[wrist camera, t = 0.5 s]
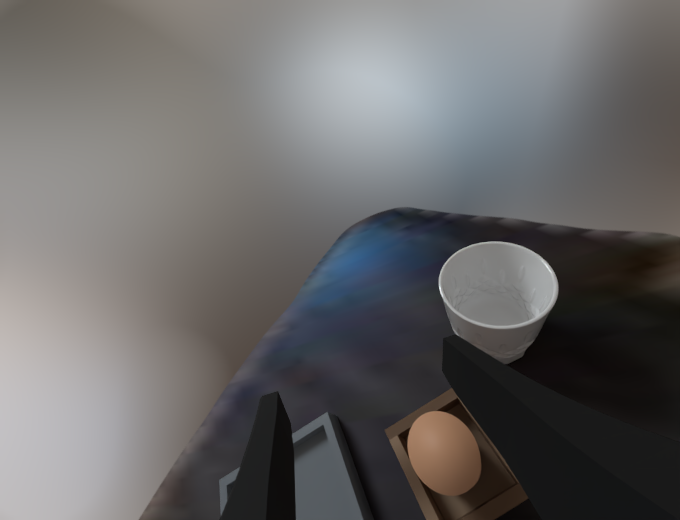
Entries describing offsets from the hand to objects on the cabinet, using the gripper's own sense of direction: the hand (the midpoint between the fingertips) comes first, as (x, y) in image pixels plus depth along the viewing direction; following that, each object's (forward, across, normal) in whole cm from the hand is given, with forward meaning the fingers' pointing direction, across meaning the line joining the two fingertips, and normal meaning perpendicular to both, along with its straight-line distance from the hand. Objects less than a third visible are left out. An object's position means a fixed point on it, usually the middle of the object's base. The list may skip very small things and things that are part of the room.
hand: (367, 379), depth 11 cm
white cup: (+10, -16, +12) cm, 22 cm away
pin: (+3, -7, +16) cm, 18 cm away
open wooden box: (+3, -7, +17) cm, 19 cm away
